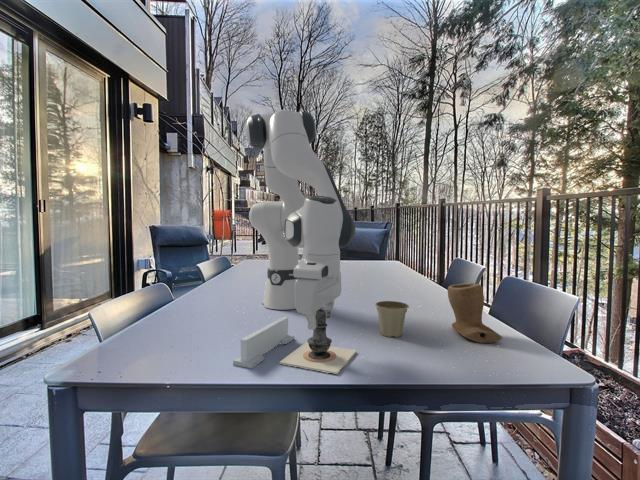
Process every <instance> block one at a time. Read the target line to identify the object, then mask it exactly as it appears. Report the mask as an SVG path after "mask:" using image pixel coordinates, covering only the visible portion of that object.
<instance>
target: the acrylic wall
mask: <svg viewBox="0 0 640 480" xmlns="http://www.w3.org/2000/svg"><path fill="white" fill-rule="evenodd" d="M293 339H294V340H295V335H294V334H289V317H287V316H282V317H280V318H278V319H276V320H274V321H273V322H270V323H269V324H267V325H265V326H263V327H261V328H259V329H258V330H255V331H253V332H251V333H250V334H248V335H246V336H244V337H242V338H240V356H239V357H237V358H234V359H233V360H232V365H233V366H236V367H242V368H248V369H252V370H253V368H255V367H256V366H257V364H258V365H259V364H260V362H261V361H262V362H264V359H265V358H264V355H266V354H267V353H269V352H270V351H272V350H274V349H275V348H276V347H278V346H279V345H282V344H287V343H288V342H290V341H291V342H292V340H293ZM294 340H293V341H294ZM291 342H290V343H291ZM280 343H281V344H280ZM278 344H279V345H278ZM288 344H289V343H288ZM288 344H287V345H288ZM277 345H278V346H277ZM275 346H276V347H275ZM274 347H275V348H274ZM271 349H272V350H271ZM269 350H270V351H269ZM268 351H269V352H268ZM266 352H267V353H266ZM265 353H266V354H265ZM263 354H264V355H263ZM262 355H263V356H262ZM262 362H261V363H262Z"/></svg>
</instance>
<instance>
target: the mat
mask: <svg viewBox="0 0 640 480" xmlns="http://www.w3.org/2000/svg"><path fill="white" fill-rule="evenodd" d="M311 351H312V350H311V349H310V347H309V343H308V342H307V341H305V342H304V343H303V344H301V345H300V346H298V347H297V348H296V349H294V350H293V351H292V352H291V353H289V354H288V355H287V356H285V357H284V358H283V359H281V360H280V361H279V365H280V364H283V365H282V366H285V365H288V366H287V367H291V366H294V367H293V368H296V367H301V368H307V369H312V370H319V371H325V372H329V373H334V374H338V372H339V371H340V370H341V369H342V368H343V367H344V366H345V365H346V366H347V365H348V363H349V362H350V361H351V360H352V359H353V358H354V357H355V355H356V354H357V350H356V349H349V348H344V347H338V346H331V345H330V348H329V349H328V350H327V352H329V353H330V357H329V358H327V359H321V360H318V359H312V358H310V357H309V356H308V354H309V353H310V352H311ZM355 353H356V354H355ZM354 354H355V355H354ZM351 358H352V359H351ZM350 359H351V360H350ZM349 360H350V361H349ZM346 366H345V367H346ZM345 367H344V368H345ZM301 368H300V369H301ZM344 368H343V369H344ZM343 369H342V370H343ZM312 370H311V371H312ZM342 370H341V371H342ZM341 371H340V372H341ZM338 375H339V374H338Z"/></svg>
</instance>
